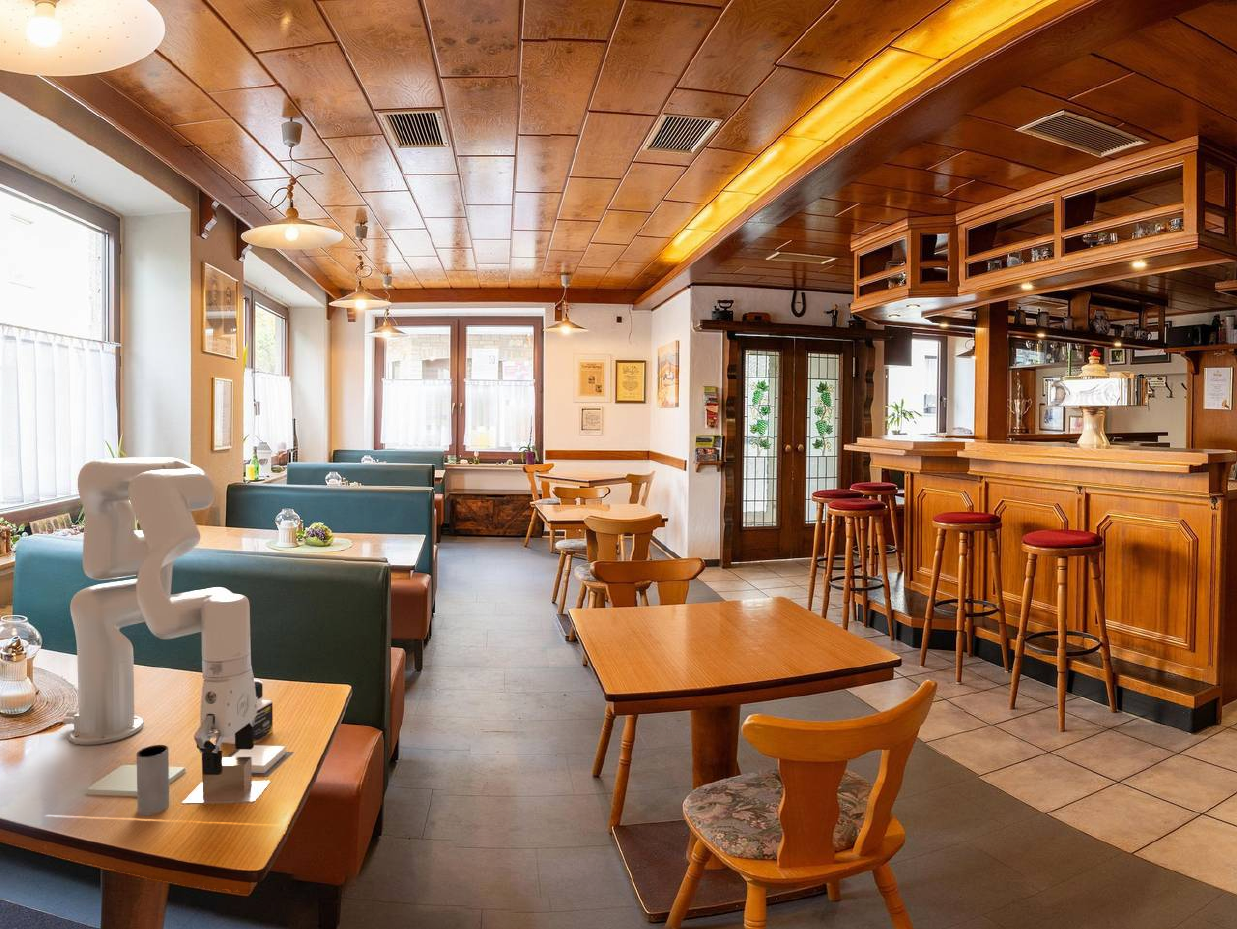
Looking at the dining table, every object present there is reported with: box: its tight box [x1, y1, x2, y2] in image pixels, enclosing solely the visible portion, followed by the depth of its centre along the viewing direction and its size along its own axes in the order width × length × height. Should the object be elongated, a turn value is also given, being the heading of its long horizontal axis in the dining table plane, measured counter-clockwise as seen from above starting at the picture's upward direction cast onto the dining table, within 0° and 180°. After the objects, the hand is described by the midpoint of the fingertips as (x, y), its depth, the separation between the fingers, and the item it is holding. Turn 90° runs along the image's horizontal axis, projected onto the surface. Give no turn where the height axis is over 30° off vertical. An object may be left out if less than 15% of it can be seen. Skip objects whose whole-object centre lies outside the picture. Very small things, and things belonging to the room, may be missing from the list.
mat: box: [226, 749, 295, 778], centre depth 138 cm, size 12×10×1 cm
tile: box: [232, 744, 287, 773], centre depth 138 cm, size 2×8×8 cm
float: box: [181, 756, 271, 805], centre depth 127 cm, size 12×7×6 cm, turn 95°
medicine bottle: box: [221, 678, 274, 745], centre depth 149 cm, size 7×7×12 cm
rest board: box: [85, 764, 186, 797], centre depth 130 cm, size 12×9×1 cm
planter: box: [136, 744, 170, 816], centre depth 122 cm, size 4×4×10 cm
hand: (229, 761), depth 127 cm, fingers open, 9 cm apart
